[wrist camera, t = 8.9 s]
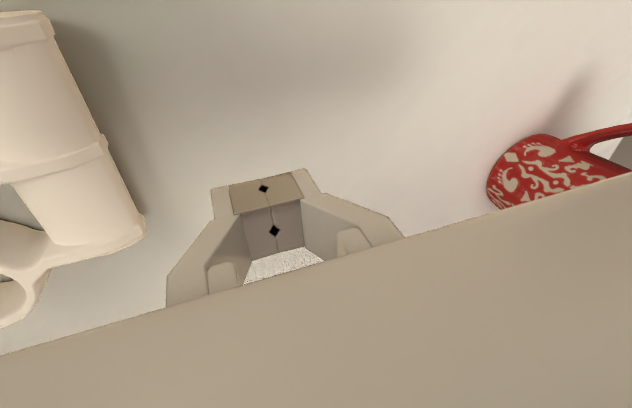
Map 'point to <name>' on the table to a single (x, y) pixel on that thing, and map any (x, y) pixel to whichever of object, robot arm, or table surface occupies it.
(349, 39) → the table surface
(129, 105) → the table surface
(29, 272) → the cream flat holed block
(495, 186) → the mug
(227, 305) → the robot arm
